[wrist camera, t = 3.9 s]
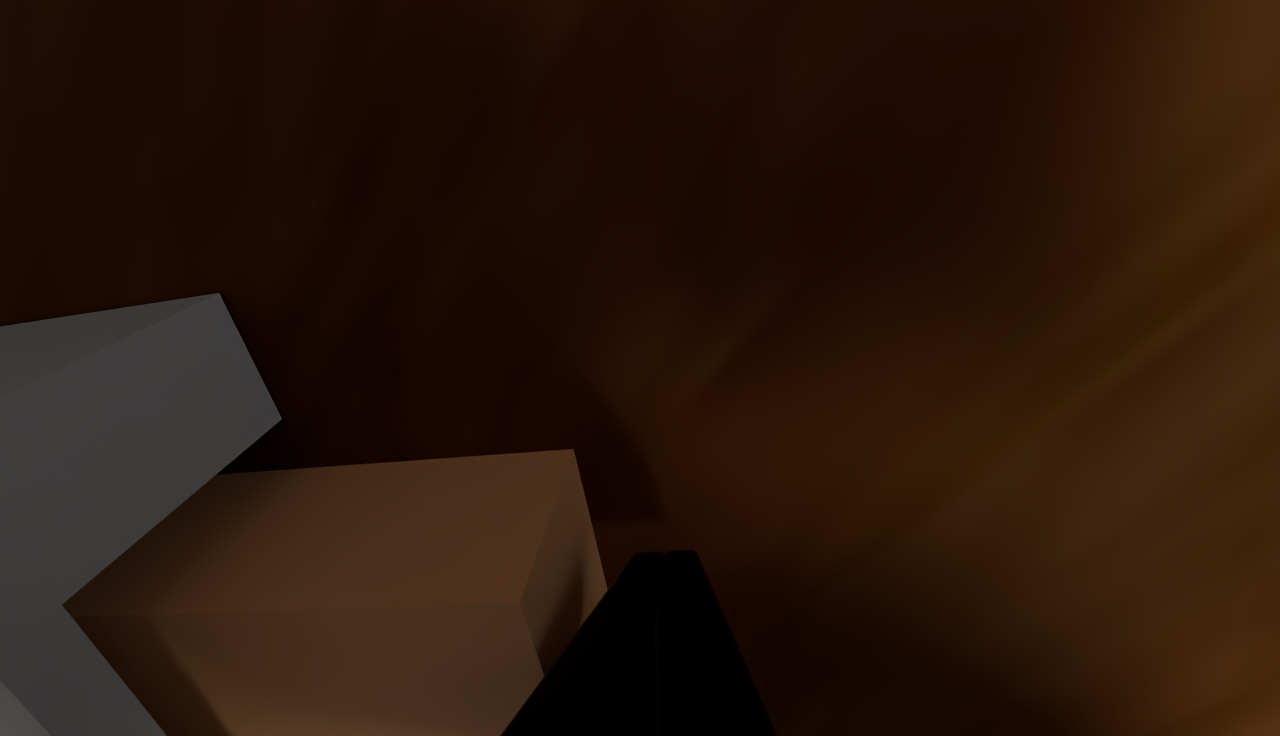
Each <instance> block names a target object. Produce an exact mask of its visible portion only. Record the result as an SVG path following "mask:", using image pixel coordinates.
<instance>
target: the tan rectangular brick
mask: <svg viewBox="0 0 1280 736" xmlns="http://www.w3.org/2000/svg"><path fill="white" fill-rule="evenodd" d="M607 590H608V589H607V585H606V581H605V577H604V573H603V569H602V565H601V560H600V556H599V552H598V548H597V544H596V540H595V536H594V531H593V527H592V523H591V519H590V515H589V511H588V507H587V502H586V498H585V494H584V490H583V486H582V482H581V478H580V473H579V469H578V465H577V461H576V457H575V453H574V449H568V450H554V451H540V452H526V453H512V454H498V455H484V456H470V457H456V458H442V459H428V460H414V461H400V462H386V463H372V464H358V465H344V466H330V467H316V468H302V469H288V470H274V471H261V472H247V473H233V474H219V475H215V476H214V477H213V478H211V479H210V480H209V481H208V482H207V483H206V484H204V485H203V486H202V487H201V488H200V489H198V490H197V491H196V492H195V493H194V494H192V495H191V496H190V497H189V498H188V499H187V500H185V501H184V502H183V503H182V504H181V505H179V506H178V507H177V508H176V509H175V510H173V511H172V512H171V513H170V514H169V515H168V516H166V517H165V518H164V519H163V520H162V521H160V522H159V523H158V524H157V525H156V526H155V527H153V528H152V529H151V530H150V531H149V532H147V533H146V534H145V535H144V536H143V537H141V538H140V539H139V540H138V541H137V542H136V543H134V544H133V545H132V546H131V547H130V548H128V549H127V550H126V551H125V552H124V553H122V554H121V555H120V556H119V557H118V558H117V559H115V560H114V561H113V562H112V563H111V564H109V565H108V566H107V567H106V568H105V569H103V570H102V571H101V572H100V573H99V574H98V575H96V576H95V577H94V578H93V579H92V580H90V581H89V582H88V583H87V584H86V585H85V586H83V587H82V588H81V589H80V590H79V591H77V592H76V593H75V594H74V595H73V596H71V597H70V598H69V599H68V600H67V601H66V602H64V603H63V604H62V606H63V607H64V608H65V609H66V611H67V612H68V613H69V614H70V616H71V617H72V618H73V619H74V621H75V622H76V623H77V624H78V626H79V627H80V628H81V629H82V631H83V632H84V633H85V634H86V636H87V637H88V638H89V639H90V641H91V642H92V643H93V644H94V646H95V647H96V648H97V649H98V651H99V652H100V653H101V654H102V656H103V657H104V658H105V659H106V661H107V662H108V663H109V664H110V666H111V667H112V668H113V669H114V671H115V672H116V673H117V674H118V676H119V677H120V678H121V679H122V681H123V682H124V683H125V684H126V686H127V687H128V688H129V689H130V691H131V692H132V693H133V694H134V696H135V697H136V698H137V699H138V701H139V702H140V703H141V704H142V706H143V707H144V708H145V709H146V711H147V712H148V713H149V714H150V715H151V717H152V718H153V719H154V720H155V722H156V723H157V724H158V725H159V727H160V728H161V729H162V730H163V732H164V733H165V734H166V735H167V736H500V735H501V734H502V733H503V731H504V730H505V728H506V727H507V726H508V724H509V723H510V722H511V720H512V719H513V718H514V716H515V715H516V714H517V712H518V711H519V709H520V708H521V707H522V705H523V704H524V703H525V701H526V700H527V699H528V697H529V696H530V695H531V693H532V692H533V690H534V689H535V688H536V686H537V685H538V684H539V682H540V681H541V680H542V678H543V677H544V676H545V674H546V673H547V672H548V670H549V669H550V667H551V666H552V665H553V663H554V662H555V661H556V659H557V658H558V657H559V655H560V654H561V653H562V651H563V650H564V648H565V647H566V646H567V644H568V643H569V642H570V640H571V639H572V638H573V636H574V635H575V634H576V632H577V631H578V629H579V628H580V627H581V625H582V624H583V623H584V621H585V620H586V619H587V617H588V616H589V615H590V613H591V612H592V610H593V609H594V608H595V606H596V605H597V604H598V602H599V601H600V600H601V598H602V597H603V596H604V594H605V593H606V591H607Z"/></svg>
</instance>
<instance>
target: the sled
mask: <svg viewBox="0 0 1280 736" xmlns="http://www.w3.org/2000/svg"><path fill="white" fill-rule="evenodd" d="M281 419H282V418H281V416H280V414H279V412H278V410H277V408H276V406H275V404H274V402H273V400H272V398H271V396H270V394H269V392H268V390H267V388H266V386H265V384H264V382H263V380H262V378H261V376H260V374H259V372H258V370H257V368H256V366H255V364H254V362H253V360H252V358H251V356H250V354H249V352H248V350H247V348H246V346H245V344H244V342H243V340H242V338H241V336H240V334H239V332H238V330H237V328H236V326H235V324H234V322H233V320H232V318H231V316H230V314H229V312H228V310H227V308H226V306H225V304H224V302H223V300H222V298H221V296H220V294H219V293H216V294H210V295H203V296H197V297H190V298H184V299H177V300H171V301H164V302H157V303H151V304H144V305H138V306H131V307H125V308H118V309H112V310H105V311H99V312H92V313H85V314H79V315H72V316H66V317H59V318H53V319H46V320H40V321H33V322H27V323H20V324H13V325H7V326H0V736H167V735H166V734H165V733H164V732H163V730H162V729H161V728H160V727H159V725H158V724H157V723H156V722H155V720H154V719H153V718H152V717H151V715H150V714H149V713H148V712H147V711H146V709H145V708H144V707H143V706H142V704H141V703H140V702H139V701H138V699H137V698H136V697H135V696H134V694H133V693H132V692H131V691H130V689H129V688H128V687H127V686H126V684H125V683H124V682H123V681H122V679H121V678H120V677H119V676H118V674H117V673H116V672H115V671H114V669H113V668H112V667H111V666H110V664H109V663H108V662H107V661H106V659H105V658H104V657H103V656H102V654H101V653H100V652H99V651H98V649H97V648H96V647H95V646H94V644H93V643H92V642H91V641H90V639H89V638H88V637H87V636H86V634H85V633H84V632H83V631H82V629H81V628H80V627H79V626H78V624H77V623H76V622H75V621H74V619H73V618H72V617H71V616H70V614H69V613H68V612H67V611H66V609H65V608H64V607H63V606H62V604H63V603H64V602H66V601H67V600H68V599H69V598H70V597H71V596H73V595H74V594H75V593H76V592H77V591H79V590H80V589H81V588H82V587H83V586H85V585H86V584H87V583H88V582H89V581H90V580H92V579H93V578H94V577H95V576H96V575H98V574H99V573H100V572H101V571H102V570H103V569H105V568H106V567H107V566H108V565H109V564H111V563H112V562H113V561H114V560H115V559H117V558H118V557H119V556H120V555H121V554H122V553H124V552H125V551H126V550H127V549H128V548H130V547H131V546H132V545H133V544H134V543H136V542H137V541H138V540H139V539H140V538H141V537H143V536H144V535H145V534H146V533H147V532H149V531H150V530H151V529H152V528H153V527H155V526H156V525H157V524H158V523H159V522H160V521H162V520H163V519H164V518H165V517H166V516H168V515H169V514H170V513H171V512H172V511H173V510H175V509H176V508H177V507H178V506H179V505H181V504H182V503H183V502H184V501H185V500H187V499H188V498H189V497H190V496H191V495H192V494H194V493H195V492H196V491H197V490H198V489H200V488H201V487H202V486H203V485H204V484H206V483H207V482H208V481H209V480H210V479H211V478H213V477H214V476H215V475H216V474H217V473H219V472H220V471H221V470H222V469H223V468H224V467H226V466H227V465H228V464H229V463H230V462H232V461H233V460H234V459H235V458H236V457H238V456H239V455H240V454H241V453H242V452H243V451H245V450H246V449H247V448H248V447H249V446H251V445H252V444H253V443H254V442H255V441H257V440H258V439H259V438H260V437H261V436H262V435H264V434H265V433H266V432H267V431H268V430H270V429H271V428H272V427H273V426H274V425H276V424H277V423H278V422H279V421H280V420H281Z"/></svg>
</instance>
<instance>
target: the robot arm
mask: <svg viewBox="0 0 1280 736" xmlns="http://www.w3.org/2000/svg"><path fill="white" fill-rule="evenodd" d="M500 736H777V734H776V732H775V730H774V728H773V725H772V723H771V721H770V718H769V716H768V714H767V712H766V709H765V707H764V705H763V702H762V700H761V698H760V696H759V693H758V691H757V689H756V686H755V684H754V682H753V680H752V677H751V675H750V673H749V670H748V668H747V666H746V664H745V661H744V659H743V657H742V654H741V652H740V650H739V648H738V645H737V643H736V641H735V638H734V636H733V634H732V632H731V629H730V627H729V625H728V622H727V620H726V618H725V616H724V613H723V611H722V609H721V606H720V604H719V602H718V600H717V597H716V595H715V593H714V590H713V588H712V586H711V584H710V581H709V579H708V577H707V574H706V572H705V570H704V568H703V565H702V563H701V561H700V558H699V556H698V554H697V552H696V551H694V550H677V551H669V552H668V553H667V554H666V555H665V554H664V553H662V552H642V553H636V554H635V555H633V556H632V558H631V559H630V560H629V562H628V563H627V564H626V566H625V567H624V568H623V570H622V571H621V573H620V574H619V575H618V577H617V578H616V579H615V581H614V582H613V583H612V585H611V586H610V587H609V589H608V590H607V591H606V593H605V594H604V596H603V597H602V598H601V600H600V601H599V602H598V604H597V605H596V606H595V608H594V609H593V610H592V612H591V613H590V615H589V616H588V617H587V619H586V620H585V621H584V623H583V624H582V625H581V627H580V628H579V629H578V631H577V632H576V634H575V635H574V636H573V638H572V639H571V640H570V642H569V643H568V644H567V646H566V647H565V648H564V650H563V651H562V653H561V654H560V655H559V657H558V658H557V659H556V661H555V662H554V663H553V665H552V666H551V667H550V669H549V670H548V672H547V673H546V674H545V676H544V677H543V678H542V680H541V681H540V682H539V684H538V685H537V686H536V688H535V689H534V690H533V692H532V693H531V695H530V696H529V697H528V699H527V700H526V701H525V703H524V704H523V705H522V707H521V708H520V709H519V711H518V712H517V714H516V715H515V716H514V718H513V719H512V720H511V722H510V723H509V724H508V726H507V727H506V728H505V730H504V731H503V733H502V734H501V735H500Z"/></svg>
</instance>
